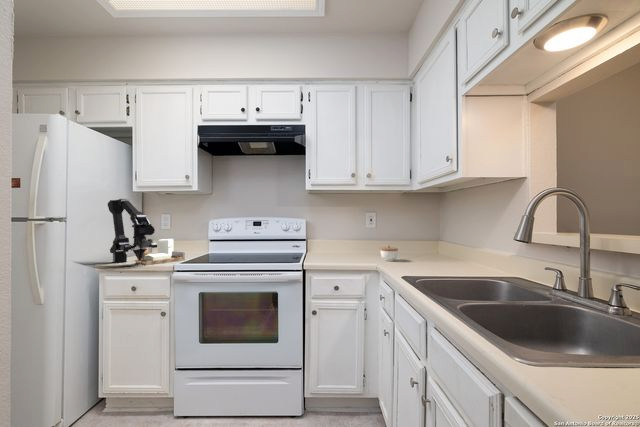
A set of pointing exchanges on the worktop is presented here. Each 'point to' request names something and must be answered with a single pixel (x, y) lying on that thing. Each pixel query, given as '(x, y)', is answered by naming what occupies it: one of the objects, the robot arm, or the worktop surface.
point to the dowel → (145, 253)
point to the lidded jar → (389, 253)
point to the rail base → (175, 257)
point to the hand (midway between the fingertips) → (139, 260)
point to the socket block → (156, 257)
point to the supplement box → (165, 246)
